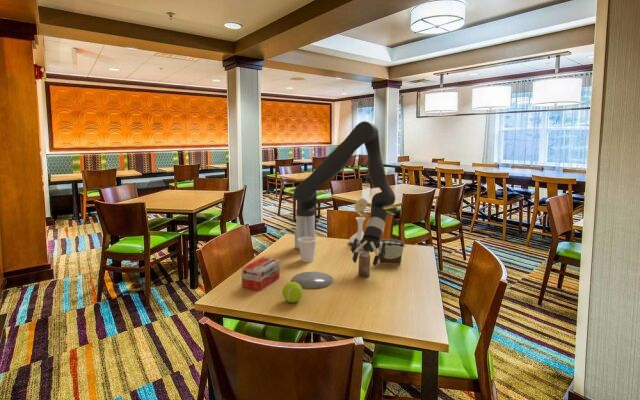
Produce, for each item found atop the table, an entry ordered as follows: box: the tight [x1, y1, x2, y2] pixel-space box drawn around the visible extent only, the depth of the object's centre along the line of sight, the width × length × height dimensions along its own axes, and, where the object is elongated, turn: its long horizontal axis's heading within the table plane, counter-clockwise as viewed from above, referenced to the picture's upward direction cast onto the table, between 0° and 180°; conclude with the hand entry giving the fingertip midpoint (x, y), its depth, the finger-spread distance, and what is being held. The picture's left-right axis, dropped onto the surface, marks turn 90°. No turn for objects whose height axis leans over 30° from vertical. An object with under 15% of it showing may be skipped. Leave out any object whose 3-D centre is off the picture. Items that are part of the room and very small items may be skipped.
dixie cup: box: [298, 237, 317, 263], centre depth 177 cm, size 8×8×10 cm
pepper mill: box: [357, 251, 371, 279], centre depth 158 cm, size 5×5×10 cm
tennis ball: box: [281, 281, 304, 303], centre depth 134 cm, size 7×7×7 cm
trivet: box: [291, 271, 333, 290], centre depth 153 cm, size 16×16×1 cm
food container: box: [377, 238, 405, 265], centre depth 176 cm, size 12×6×10 cm, turn 84°
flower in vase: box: [348, 197, 369, 246], centre depth 202 cm, size 13×11×25 cm
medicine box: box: [241, 256, 281, 292], centre depth 150 cm, size 15×8×8 cm, turn 156°
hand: (364, 263), depth 158 cm, fingers open, 8 cm apart
